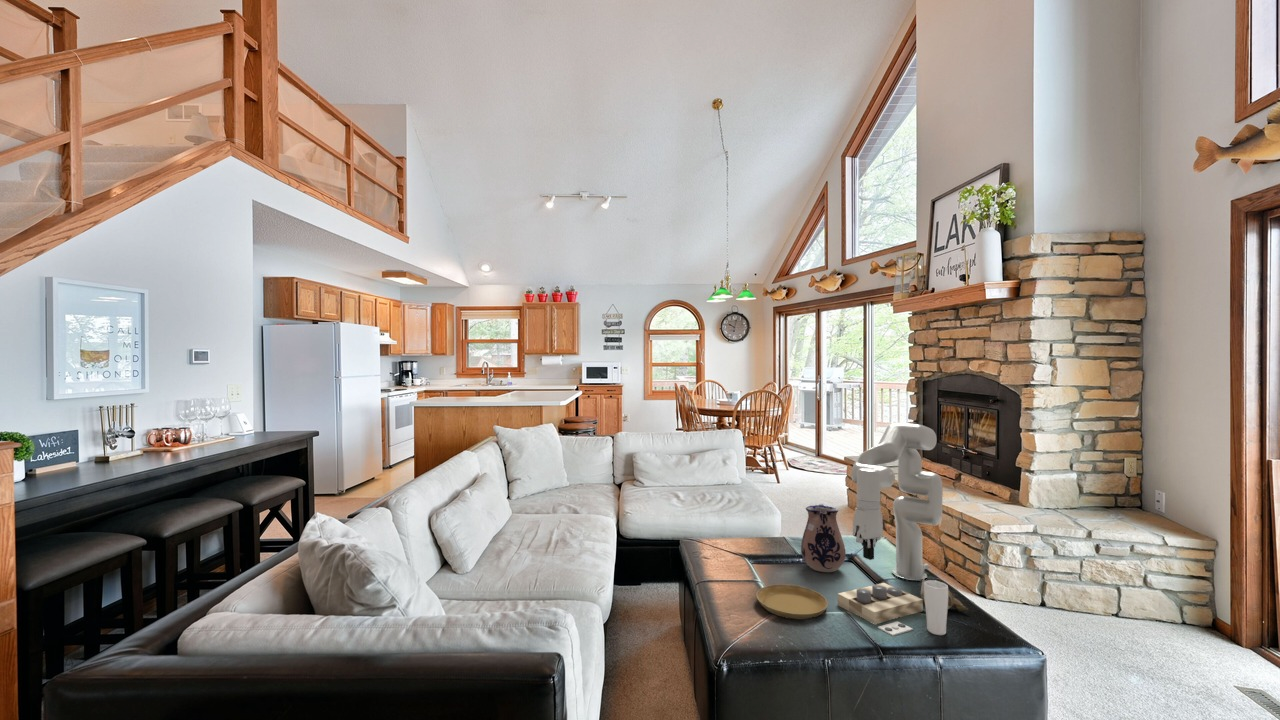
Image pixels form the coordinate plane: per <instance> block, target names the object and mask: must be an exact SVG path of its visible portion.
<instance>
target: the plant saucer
mask: <svg viewBox="0 0 1280 720" xmlns="http://www.w3.org/2000/svg"><path fill="white" fill-rule="evenodd" d="M755 596H756V599H757V601H758V602H759V604H760V606H762V607H763V609H766V611H768V612H769V613H771V614H773V615H775V616H777V617H778V616H779V617H781V616H782V617H781V618H784V617H787V618H786V619H789V618H796V619H795V620H804V619H803V618H810V619H813V618H812V617H814V618H816V617H818V616H820V615H822V614H823V613H824V612H825V611H826V610H827V608H828V605H829V603H828V600H827V598H826V597H825V596H824V595H822V593H820V592H818V591H816V590H813V589H811V588H808V587H804V586H801V585H794V584H784V583H781V584H780V583H779V584H778V583H777V584H770V585H766V586H763V587H761V588H760V589H758V591H757V592H756V593H755Z"/></svg>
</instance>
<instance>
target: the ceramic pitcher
mask: <svg viewBox="0 0 1280 720" xmlns="http://www.w3.org/2000/svg"><path fill="white" fill-rule="evenodd" d="M805 510H806V512H807V514H808V517H807V521H806V525H805V529H804V531H803V534H802V539H801V546H800V547H801V548H800V554H801V556H802V558H803V560H804V562H805V564H806V565H807V566H809V568H811V569H812V570H813V571H817V572H821V573H833V572H835V571H837V570H839V569H840V568H841V567H842V565H843V564H844V562H845V559H846V554H847V553H846V547H845V546H846V545H845V543H844V540H843V537H842V533H841V531H840V530H841V529H840V528H839V525H838V524H839V523H838V522H837V521H838V520H837V514H838V512H839V509H837V508H836V507H834V506H833V507H832V506H828V505H824V504H823V503H821V504H818V505H817V504H815V505H809V506H807V507H805Z"/></svg>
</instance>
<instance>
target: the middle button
mask: <svg viewBox="0 0 1280 720" xmlns="http://www.w3.org/2000/svg"><path fill="white" fill-rule="evenodd" d="M871 586H872V585H871ZM872 597H873V598H875V599H877V600H879V601H883V600H887V588H886V587H884V586H880V585H876V584H874V586H872Z"/></svg>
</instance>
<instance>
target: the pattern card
mask: <svg viewBox="0 0 1280 720" xmlns="http://www.w3.org/2000/svg"><path fill="white" fill-rule="evenodd" d="M877 629H879V630H881V631H883V632H884V633H887V634H888V635H890V636H894V637H895V636H897V635H900V634H904V633H907V632H912V631H913V630H914V629H913V628H912V627H911V626H908V625H906V624H904V623H902V622H900V621H898V620H897V621H892V622H890V623H887V624H883V625H879V626H877Z"/></svg>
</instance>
